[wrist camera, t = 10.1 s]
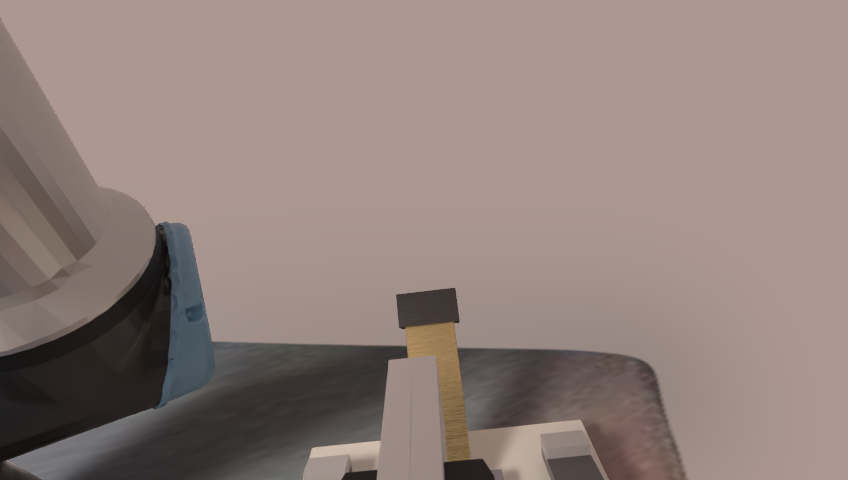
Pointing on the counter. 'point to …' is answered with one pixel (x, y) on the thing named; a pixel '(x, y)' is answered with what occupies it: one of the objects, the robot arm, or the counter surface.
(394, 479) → the robot arm
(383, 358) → the counter surface
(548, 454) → the block
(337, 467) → the block
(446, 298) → the brass lever
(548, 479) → the switch panel
